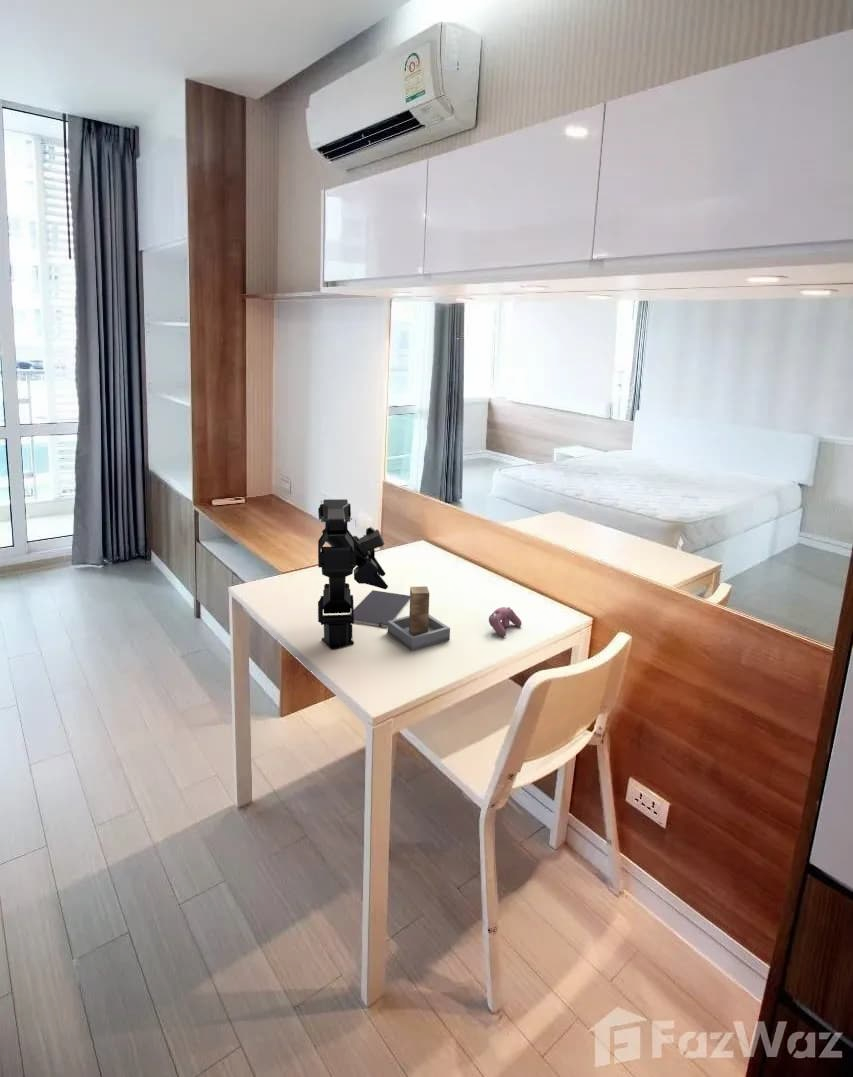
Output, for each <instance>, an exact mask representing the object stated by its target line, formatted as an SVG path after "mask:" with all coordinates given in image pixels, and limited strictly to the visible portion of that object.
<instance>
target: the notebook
mask: <svg viewBox="0 0 853 1077" xmlns="http://www.w3.org/2000/svg"><path fill="white" fill-rule="evenodd" d="M408 603H410V594H408V595H407V594H401V593H394V592H387V591H381V590H374V589H372V590H371V591H370V592H369V593H368V594H367V595H366V596H365V597H364V598H363V599H362V601H361V602H360V603H359V604H358V605H357V606H355V607H354V623H358V624H362V625H369V626H375V627H378V628H379V627H380V628H381V627H382V628H388V621H390V620H394V619H397V617H398V616H399V615H400V614H401V612H403V610H404V608H406V607H407V605H408ZM349 614H351V612H350V613H349Z"/></svg>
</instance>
